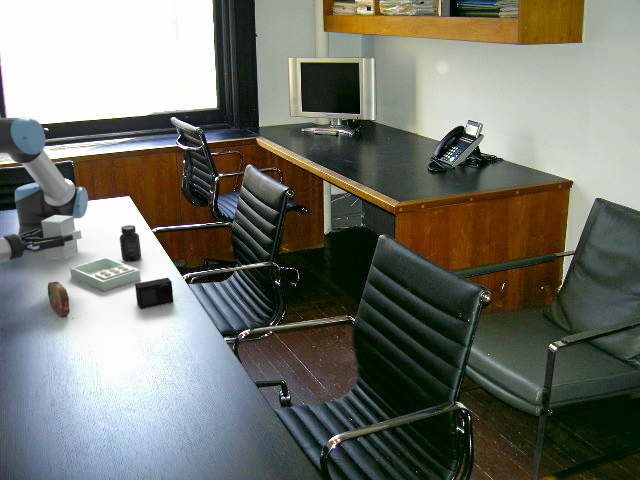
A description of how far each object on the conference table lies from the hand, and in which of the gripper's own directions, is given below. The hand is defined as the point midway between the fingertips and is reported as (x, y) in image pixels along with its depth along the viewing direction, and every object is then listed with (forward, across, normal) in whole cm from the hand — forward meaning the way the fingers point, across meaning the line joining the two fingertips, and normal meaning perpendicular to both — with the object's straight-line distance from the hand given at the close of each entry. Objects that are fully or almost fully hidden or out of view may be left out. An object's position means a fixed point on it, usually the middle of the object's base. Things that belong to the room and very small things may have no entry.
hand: (72, 231), depth 256 cm
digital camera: (+6, +36, -18) cm, 40 cm away
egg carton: (+7, +11, -18) cm, 22 cm away
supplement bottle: (+24, -6, -18) cm, 30 cm away
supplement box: (-5, 0, -7) cm, 9 cm away
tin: (-17, +18, -18) cm, 30 cm away
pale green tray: (+7, +5, -18) cm, 20 cm away
